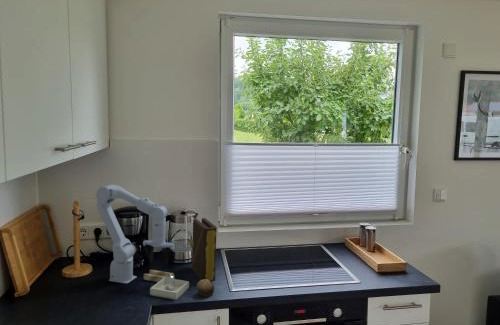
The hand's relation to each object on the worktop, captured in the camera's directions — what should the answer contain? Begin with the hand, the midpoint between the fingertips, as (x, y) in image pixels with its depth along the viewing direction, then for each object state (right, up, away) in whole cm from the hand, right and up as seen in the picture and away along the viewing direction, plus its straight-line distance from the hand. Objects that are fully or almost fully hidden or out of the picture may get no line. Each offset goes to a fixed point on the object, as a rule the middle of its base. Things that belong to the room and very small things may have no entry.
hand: (158, 262), depth 168 cm
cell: (+7, -10, -7) cm, 14 cm away
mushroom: (+22, -11, -8) cm, 26 cm away
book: (+18, -9, +14) cm, 25 cm away
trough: (-1, -9, +5) cm, 10 cm away
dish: (+7, -10, -7) cm, 14 cm away
